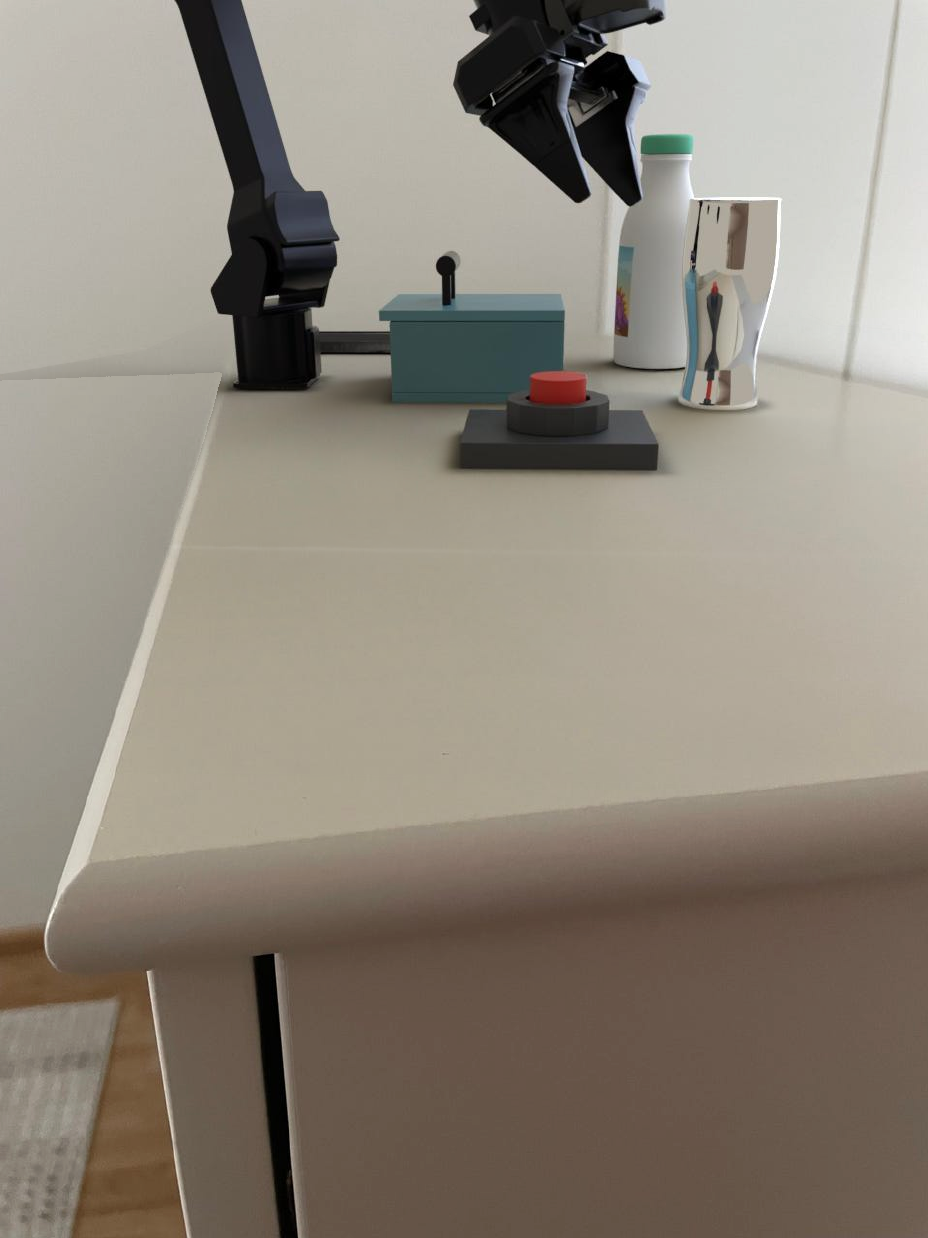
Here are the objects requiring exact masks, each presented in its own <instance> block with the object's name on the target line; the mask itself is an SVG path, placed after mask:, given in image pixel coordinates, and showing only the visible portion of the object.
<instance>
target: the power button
mask: <svg viewBox="0 0 928 1238" xmlns="http://www.w3.org/2000/svg"><path fill="white" fill-rule="evenodd" d="M587 377H588V376H587V375H586V374H585V373H581V372H576V371H567V370H563V371H548V372H539V373H534V374H532V375H531V376H530V401H532V402H537V403H546V404H572V403H581V402H586V390H587V382H588V380H587V379H588V378H587Z"/></svg>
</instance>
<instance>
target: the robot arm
mask: <svg viewBox="0 0 928 1238" xmlns="http://www.w3.org/2000/svg"><path fill="white" fill-rule="evenodd" d="M173 1H174V2H175V4H176V6H177V8H178V11H179V14H180V17H181V20H182V23H183V26H184V30H185V33H186V37H187V40H188V43H189V46H190V49H191V53H192V57H193V60H194V62H195V66H196V70H197V73H198V76H199V79H200V83H201V86H202V89H203V93H204V96H205V100H206V102H207V103H206V104H207V106H208V109H209V112H210V115H211V118H212V122H213V126H214V129H215V132H216V135H217V138H218V142H219V145H220V148H221V149H220V150H221V151H222V154H223V158H224V162H225V166H226V168H227V171H228V175H229V178H230V181H231V184H232V189H233V193H232V198H231V204H230V209H229V213H228V219H227V223H226V230H227V236H228V241H229V245H230V251H231V252H230V253H231V255H230V257H229V258H228V260H227V261H226V263H225V265H224V266H223V268H222V269H221V271H220V273H219V274H218V276H217V278H216V279H215V280H214V282H213V284H212V285H211V287H210V294H211V297H212V300H213V303H214V306H215V309H216V312H217V314H218V315H225V316H232V326H233V327H232V328H233V336H234V348H235V359H236V361H235V362H236V371H237V379H235V380H234V381H233V382H232V388H233V389H307V388H309V387H311V385H312V384H313V383H314V382H315V381H317V380H318V379H319V378H320V377H321V374H322V357H321V355H322V354H321V352H320V338H319V331H320V328H319V326H317V325H313V314H312V313H313V312H312V308H313V309H315V308H317V309H320V308H324V307H325V304H326V301H327V296H328V290H329V286H330V282H331V279H332V277H333V273H334V270H335V268H336V267H337V266H338V252H337V246H336V243H335V242H339V241H340V240H341V239H340V236H339V235H338V233H337V231H336V230H335V228H334V225H333V222H332V219H331V215H330V209H329V203H328V199H327V197H326V195H325V193H324V192H323V191H322V190H305V188H304V187H303V186H302V185H301V184H300V183H299V181H298V180H297V179H296V178H295V177H294V174H293V172H292V169H291V166H290V162H289V158H288V155H287V151H286V148H285V145H284V142H283V139H282V135H281V131H280V128H279V123H278V121H277V118H276V114H275V111H274V107H273V105H272V104H273V103H272V100H271V97H270V93H269V90H268V87H267V84H266V83H267V82H266V80H265V77H264V73H263V69H262V66H261V64H260V60H259V56H258V52H257V49H256V46H255V42H254V38H253V36H252V31H251V28H250V24H249V22H248V18H247V14H246V11H245V7H244V4H243V1H242V0H173ZM473 3H474V6H475V8H476V9H475V10H474V11H473V12H472V13H471V14H469V15H468V18H469V20H470V22H471V24H472V26H473V29H474V31H476V32H478V33H482V34H485V35H487V37H486V38H485V39H484V40H482V41H481V42H480V43H478V45H476V46H475V47H474V48H473V49H471V50H470V51H469V52H467V54H466V55H464V56H463V57H462V58H460V59H459V60H458V61H457V64H456V68H455V73H454V77H453V82H452V83H453V84H452V87H453V88H454V90H455V93H456V95H457V97H458V99H459V101H460V103H461V106H462V109H463V111H464V112H465V114H467V115H468V114H469V115H474V116H479V118H478V120H479V123H480V124H481V125H482V126H483V127H485V128H486V127H487V128H488V129H489V130H491V131H492V132H493V133H494V134H495V135H497V136H498V138H500V139H501V140H503V141H504V142H505V143H506V144H508V145H509V146H510V147H511V148H512V149H513V150H514V151H516V152H517V153H518V154H519V155H521V156H522V157H523V158H524V159H525V160H526V161H527V162H528V163H529V164H531V165H532V166H533V167H535V169H536V170H538V171H539V172H540V173H541V174H542V175H544V177H546V178H547V179H548V180H549V181H550V182H551V183H552V184H554V186H555V187H557V188H558V189H559V190H560V191H561V192H562V193H563V194H565V195H566V196H567V197H568V198H569V199H571V201H573V202H574V203H576V204H582V203H583V202H585V201H586V200H587V199H589V198H591V196H592V189H591V185H590V181H589V177H588V174H587V170H586V166H585V163H584V161H585V162H586V163H587V164H588V166H589V167H590V168H592V170H593V171H594V172H595V173H596V174H597V175H598V177H600V179H601V180H602V181H603V182H604V183H605V184H606V185H607V186H608V187H609V189H611V190H612V191H613V193H614V194H615V195H616V196H617V197H618V198H619V199H620V200H621V201H622V202H623V203H624V204H625V205H626V206H627V207H629V206H634V205H635V204H637V203H638V202H640V201H641V200H642V198H643V195H642V189H641V182H640V178H641V174H640V169H639V161H638V154H637V147H636V141H635V130H634V121H635V119H636V116H637V114H638V111H639V109H640V107H641V105H642V104H643V103H644V102H645V101H646V99H647V95H648V94H647V93H648V91H649V90H650V88H651V87H652V84H651V82H650V80H649V78H648V75H647V73H646V71H645V68H644V66H643V64H642V62H641V61H640V60H637V59H635V58H632V57H630V56H627V55H624V54H621V53H617V52H613V51H609V50H606V51H605V52H603V53H602V54H601V55H599V56H598V57H597V58H595V59H594V60H593V61H591V62H590V63H589V64H588V60H587V58H588V57H590V56H595V55H597V54H598V53H599V52H600V51H602V50H603V49H604V48H605V47H607V46H609V42H608V40H607V38H606V36H605V35H606V34H612V33H616V32H619V31H622V30H625V29H629V28H632V27H636V26H639V25H642V24H647V25H649V26H651V25H655V24H658V23H661V22H663V21H665V19H666V18H667V14H666V0H473ZM587 64H588V65H587ZM494 103H495V104H494ZM274 296H278V297H274ZM267 297H273V298H267Z"/></svg>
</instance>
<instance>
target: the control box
mask: <svg viewBox="0 0 928 1238" xmlns="http://www.w3.org/2000/svg"><path fill="white" fill-rule="evenodd" d="M610 402H611V401H610V398H609V395H607V394H604V393H600V392H597V391H594V390H588V389H586V402H581V403H572V404H546V403H537V402H532V401H530V390H522V391H519V392H516V393H513V394H509V395H508V396H507V402H506V409H487V408H486V409H485V408H484V409H481V408H480V409H479V408H478V409H477V408H476V409H474V408H473V409H472V408H471V409H469V410H468V412H467V416H466V419H465V420H466V421H465V423H464V427H463V431H462V434H461V438H460V442H459V469H461V470H550V471H551V470H559V471H562V470H563V471H564V470H566V471H568V470H569V471H570V470H571V471H572V470H573V471H658V461H659V447H660V445H659V441H658V440H657V438H656V435H655V434H654V431H653V430H652V427H651V426H650V425H651V424H650V423H649V421H648V420H647V417H646V414H645V413H644V411H643V410H642V409H610Z"/></svg>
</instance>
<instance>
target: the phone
mask: <svg viewBox="0 0 928 1238" xmlns="http://www.w3.org/2000/svg"><path fill="white" fill-rule="evenodd" d="M319 338H320V353H391V349H390V330H387V331H386V330H385V331H384V330H383V331H382V330H381V331H380V330H379V331H378V330H377V331H376V330H374V331H370V330H367V331H366V330H362V331H361V330H359V331H358V330H357V331H356V330H355V331H354V330H351V331H350V330H349V331H347V330H345V331H344V330H341V331H340V330H339V331H336V330H329V331H328V330H322V331H321V330H319Z"/></svg>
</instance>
